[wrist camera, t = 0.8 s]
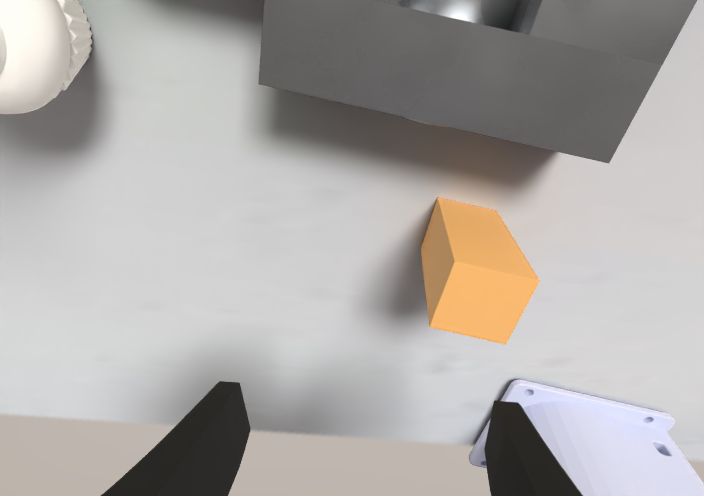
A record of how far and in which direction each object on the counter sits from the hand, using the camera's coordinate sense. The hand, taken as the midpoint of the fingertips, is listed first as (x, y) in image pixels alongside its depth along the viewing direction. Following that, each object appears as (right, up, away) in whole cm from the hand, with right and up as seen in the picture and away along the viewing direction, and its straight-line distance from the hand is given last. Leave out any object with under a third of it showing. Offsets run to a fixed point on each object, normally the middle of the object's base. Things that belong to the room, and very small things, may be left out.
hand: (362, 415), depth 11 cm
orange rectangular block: (+5, +6, +7) cm, 10 cm away
